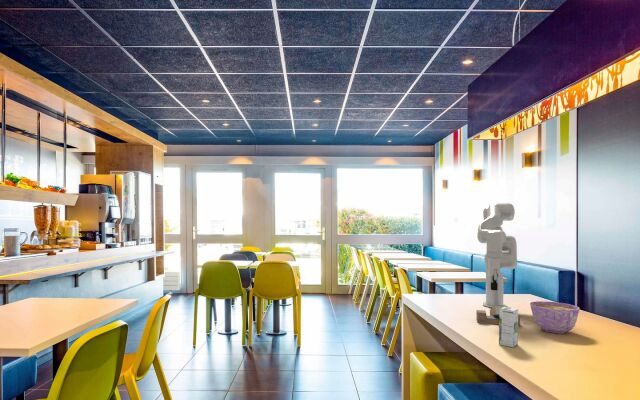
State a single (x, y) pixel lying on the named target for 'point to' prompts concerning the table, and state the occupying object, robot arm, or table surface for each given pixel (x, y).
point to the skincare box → (496, 311)
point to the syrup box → (508, 326)
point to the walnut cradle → (489, 318)
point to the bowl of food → (554, 316)
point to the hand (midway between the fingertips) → (494, 289)
